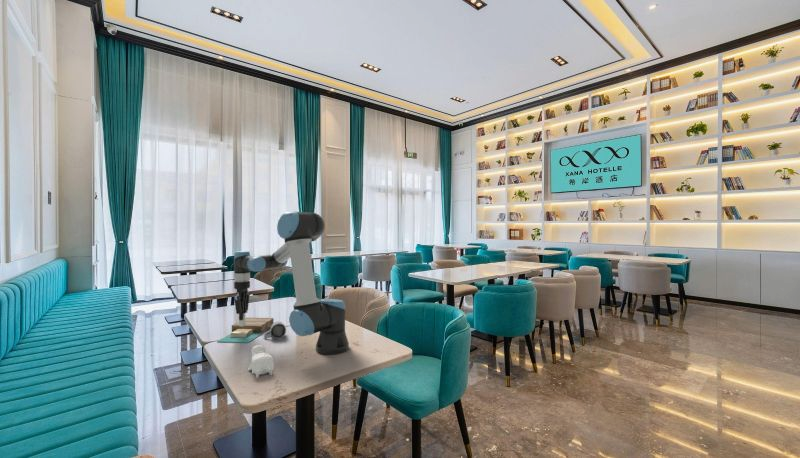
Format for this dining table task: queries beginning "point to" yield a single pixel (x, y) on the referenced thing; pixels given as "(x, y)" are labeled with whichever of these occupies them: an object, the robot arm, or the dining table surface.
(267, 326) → the walnut riser
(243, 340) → the teal mat
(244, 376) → the dining table surface
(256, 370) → the white animal figurine
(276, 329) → the ceramic mug
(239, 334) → the oak coaster
